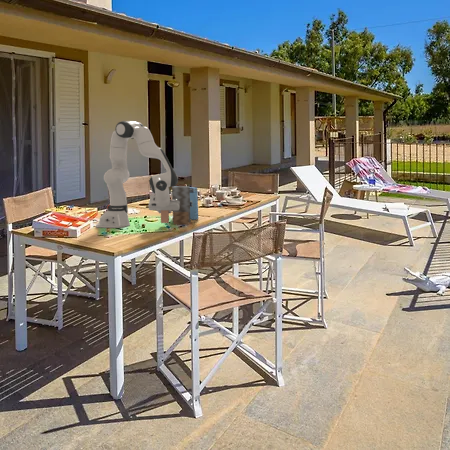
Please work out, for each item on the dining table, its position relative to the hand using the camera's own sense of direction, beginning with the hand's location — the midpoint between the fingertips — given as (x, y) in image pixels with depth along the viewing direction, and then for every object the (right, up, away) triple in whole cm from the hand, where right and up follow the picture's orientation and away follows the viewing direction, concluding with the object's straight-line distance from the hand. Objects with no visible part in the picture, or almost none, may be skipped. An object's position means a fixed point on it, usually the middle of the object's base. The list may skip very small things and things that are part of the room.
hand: (164, 212), depth 337 cm
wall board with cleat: (+10, -7, +10) cm, 16 cm away
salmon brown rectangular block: (0, -7, +1) cm, 7 cm away
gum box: (+12, -4, +31) cm, 33 cm away
